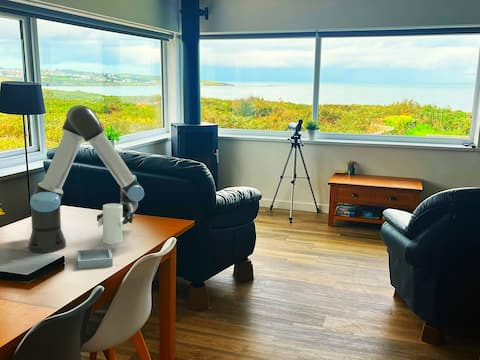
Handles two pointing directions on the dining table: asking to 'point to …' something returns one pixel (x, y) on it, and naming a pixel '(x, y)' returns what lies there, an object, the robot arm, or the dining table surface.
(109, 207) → the cup
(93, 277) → the dining table surface
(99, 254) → the dock tray
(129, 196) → the robot arm
